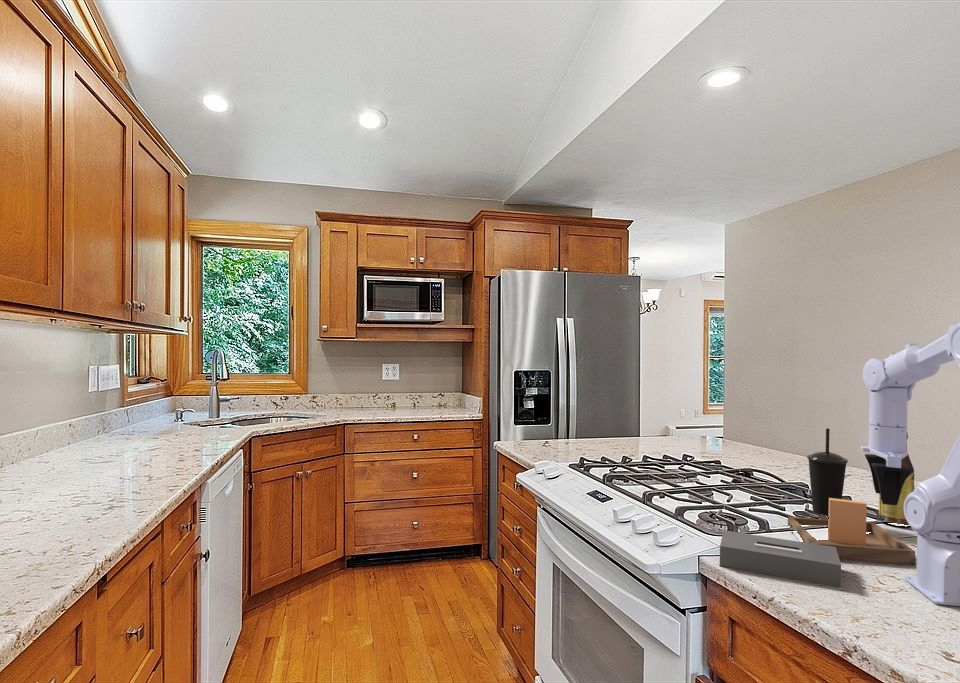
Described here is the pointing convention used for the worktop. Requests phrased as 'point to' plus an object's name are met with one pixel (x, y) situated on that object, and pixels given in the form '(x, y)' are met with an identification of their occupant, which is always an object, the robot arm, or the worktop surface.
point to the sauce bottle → (897, 512)
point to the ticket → (847, 521)
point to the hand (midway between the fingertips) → (885, 498)
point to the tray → (876, 550)
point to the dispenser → (781, 558)
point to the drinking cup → (826, 477)
